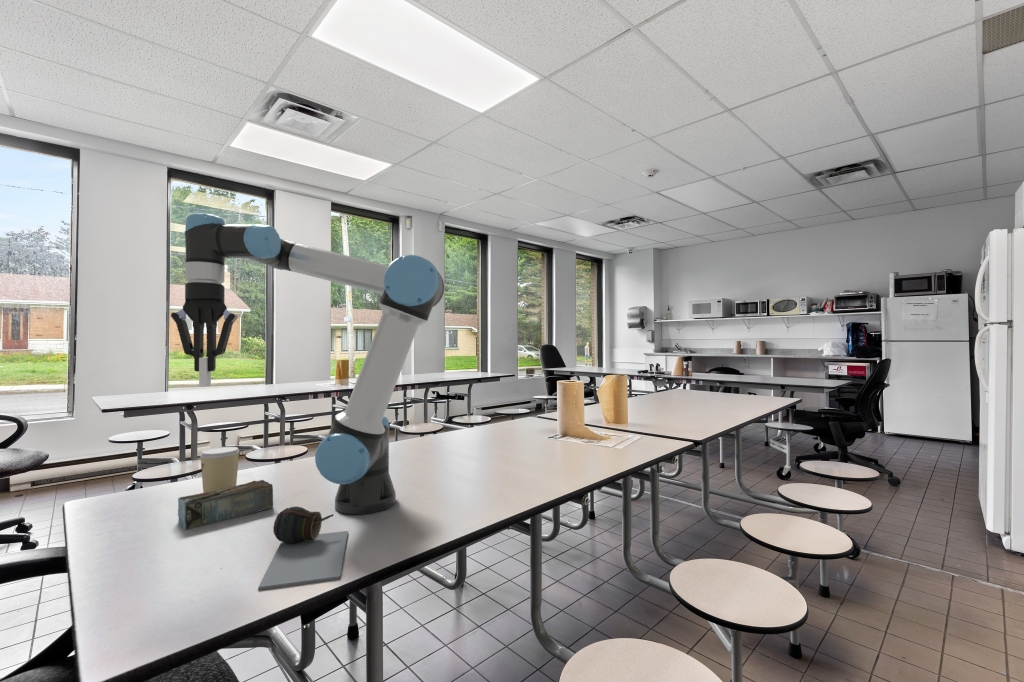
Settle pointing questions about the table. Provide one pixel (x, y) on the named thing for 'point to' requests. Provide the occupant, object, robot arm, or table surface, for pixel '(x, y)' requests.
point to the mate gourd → (297, 525)
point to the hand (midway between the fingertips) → (205, 385)
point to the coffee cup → (219, 468)
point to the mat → (306, 561)
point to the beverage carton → (224, 504)
